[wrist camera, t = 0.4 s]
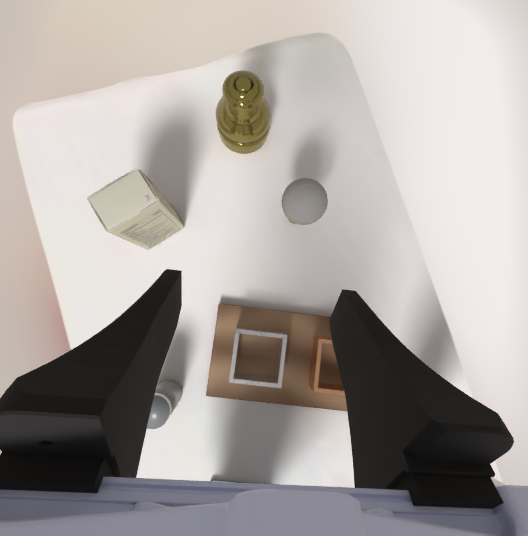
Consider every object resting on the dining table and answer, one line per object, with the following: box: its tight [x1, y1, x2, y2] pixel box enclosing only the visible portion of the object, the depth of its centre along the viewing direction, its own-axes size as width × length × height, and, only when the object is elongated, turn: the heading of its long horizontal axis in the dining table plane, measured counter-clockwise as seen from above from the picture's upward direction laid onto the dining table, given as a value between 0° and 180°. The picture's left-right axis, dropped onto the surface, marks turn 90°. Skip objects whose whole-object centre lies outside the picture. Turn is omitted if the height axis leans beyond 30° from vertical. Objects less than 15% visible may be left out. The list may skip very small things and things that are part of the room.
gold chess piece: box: [216, 71, 271, 154], centre depth 41 cm, size 7×7×10 cm
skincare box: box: [87, 168, 184, 250], centre depth 37 cm, size 6×4×12 cm
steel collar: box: [229, 327, 287, 388], centre depth 40 cm, size 6×6×3 cm
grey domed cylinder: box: [147, 380, 182, 429], centre depth 37 cm, size 4×4×7 cm
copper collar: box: [308, 336, 345, 395], centre depth 40 cm, size 6×6×3 cm
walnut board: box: [206, 304, 347, 411], centre depth 42 cm, size 12×22×1 cm, turn 83°
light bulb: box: [282, 178, 327, 225], centre depth 40 cm, size 6×5×10 cm
